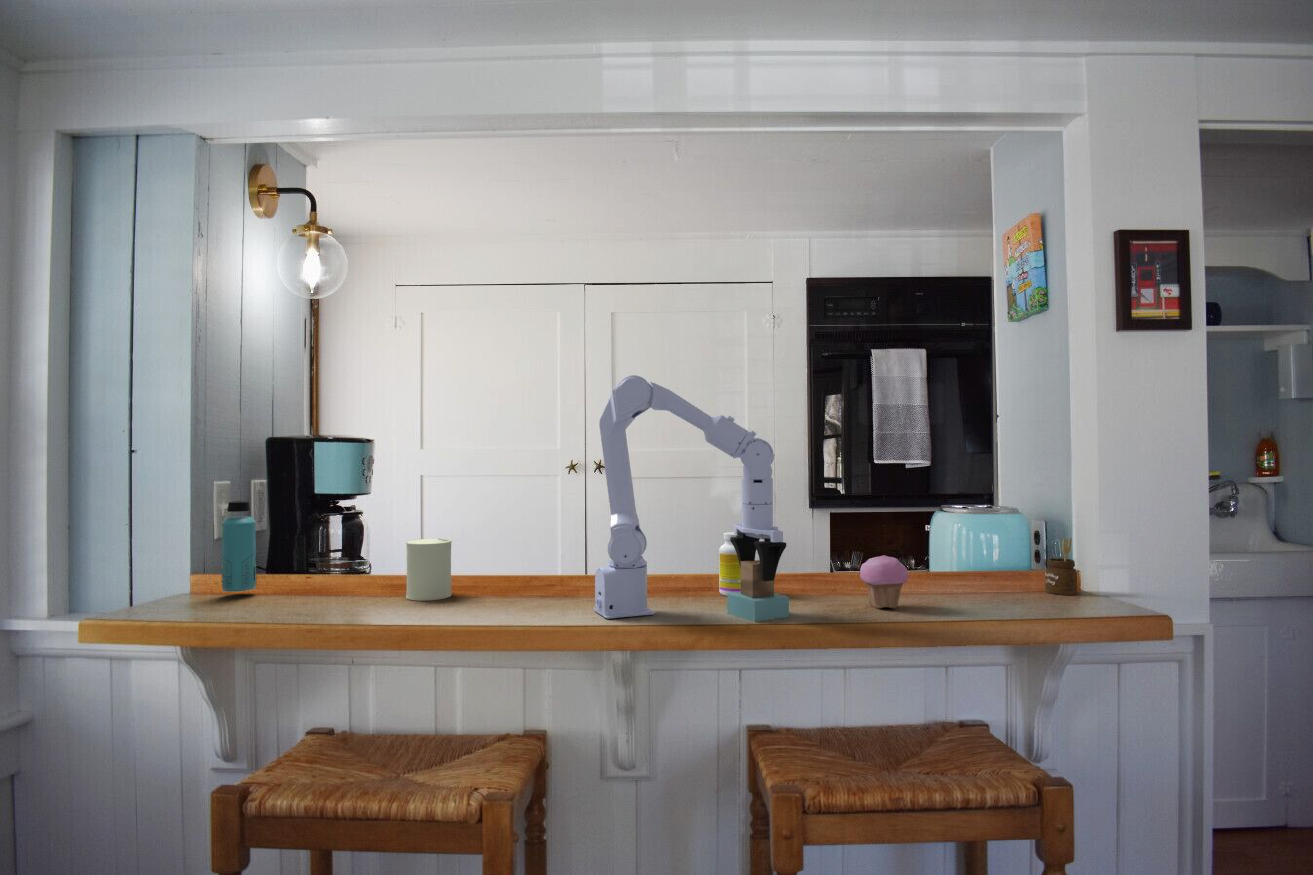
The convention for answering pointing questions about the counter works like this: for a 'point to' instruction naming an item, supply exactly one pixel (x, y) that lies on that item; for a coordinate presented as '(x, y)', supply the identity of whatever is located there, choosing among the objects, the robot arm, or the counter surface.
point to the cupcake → (883, 580)
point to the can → (428, 569)
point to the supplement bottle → (729, 567)
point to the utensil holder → (1061, 573)
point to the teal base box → (757, 606)
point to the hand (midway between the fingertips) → (757, 577)
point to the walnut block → (754, 581)
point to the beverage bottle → (238, 550)
